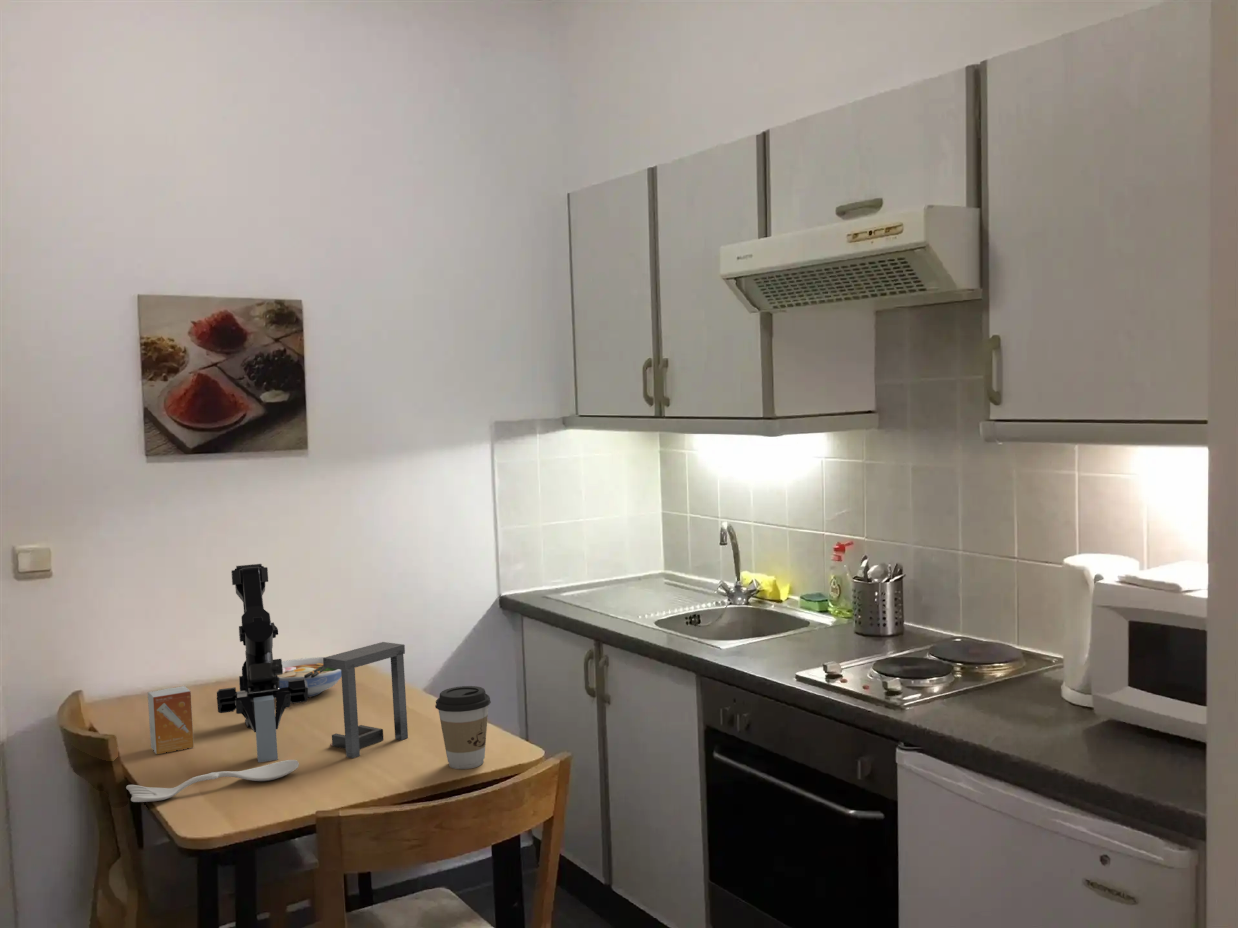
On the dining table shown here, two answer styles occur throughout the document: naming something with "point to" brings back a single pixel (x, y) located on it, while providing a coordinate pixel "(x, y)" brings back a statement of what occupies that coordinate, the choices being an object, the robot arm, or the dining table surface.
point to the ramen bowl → (309, 674)
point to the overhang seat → (356, 734)
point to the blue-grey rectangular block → (265, 728)
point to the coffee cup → (464, 725)
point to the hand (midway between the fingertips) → (265, 729)
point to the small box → (170, 719)
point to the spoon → (252, 774)
